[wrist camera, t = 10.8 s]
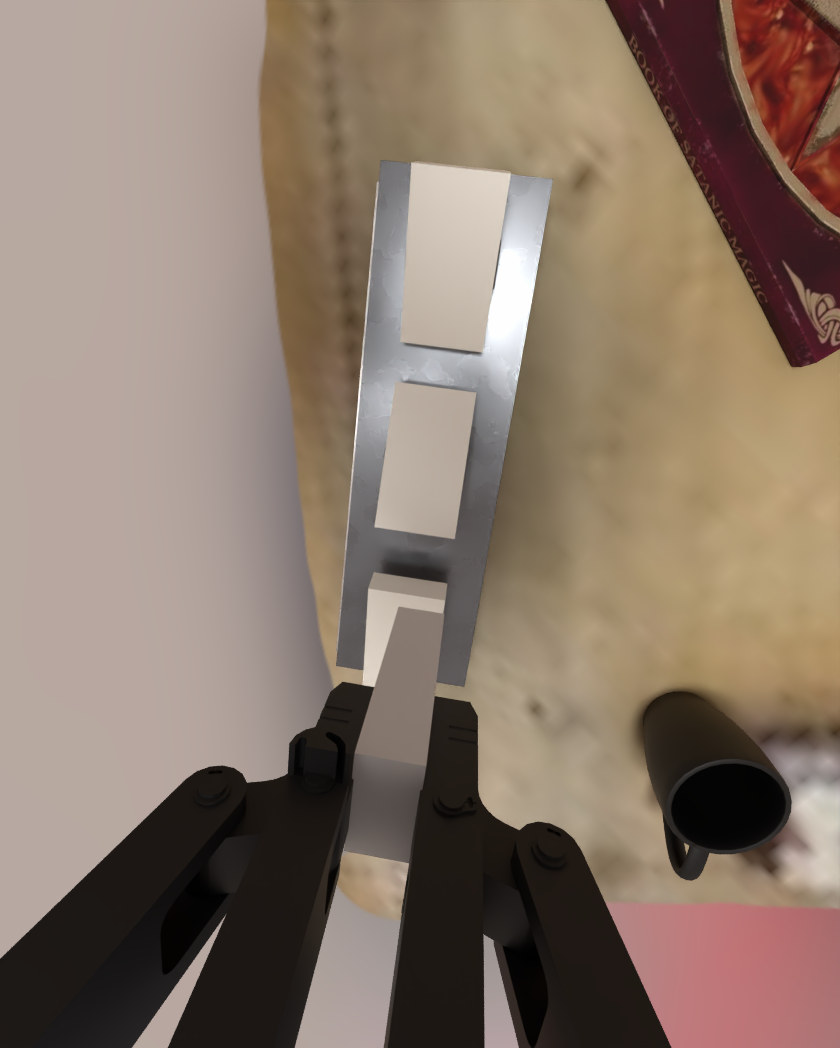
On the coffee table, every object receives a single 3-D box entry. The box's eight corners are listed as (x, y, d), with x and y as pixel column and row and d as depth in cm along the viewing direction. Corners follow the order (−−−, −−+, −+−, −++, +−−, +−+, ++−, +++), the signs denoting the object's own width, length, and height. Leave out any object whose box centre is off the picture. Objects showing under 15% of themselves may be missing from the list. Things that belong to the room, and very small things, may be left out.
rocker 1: (417, 159, 29) (409, 162, 27) (512, 170, 29) (512, 173, 26) (406, 326, 34) (398, 341, 32) (485, 336, 34) (484, 352, 32)
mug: (600, 780, 48) (630, 877, 39) (645, 667, 44) (690, 745, 35) (690, 802, 47) (742, 906, 38) (743, 690, 44) (814, 776, 35)
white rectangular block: (398, 392, 35) (393, 381, 32) (475, 403, 35) (478, 392, 32) (379, 525, 36) (372, 526, 33) (455, 536, 35) (456, 539, 32)
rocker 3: (376, 560, 37) (366, 588, 34) (450, 572, 36) (446, 600, 34) (369, 654, 41) (361, 684, 39) (435, 664, 41) (431, 696, 38)
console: (390, 187, 36) (377, 159, 31) (541, 204, 35) (552, 179, 30) (347, 637, 46) (333, 668, 41) (464, 655, 45) (463, 690, 40)
